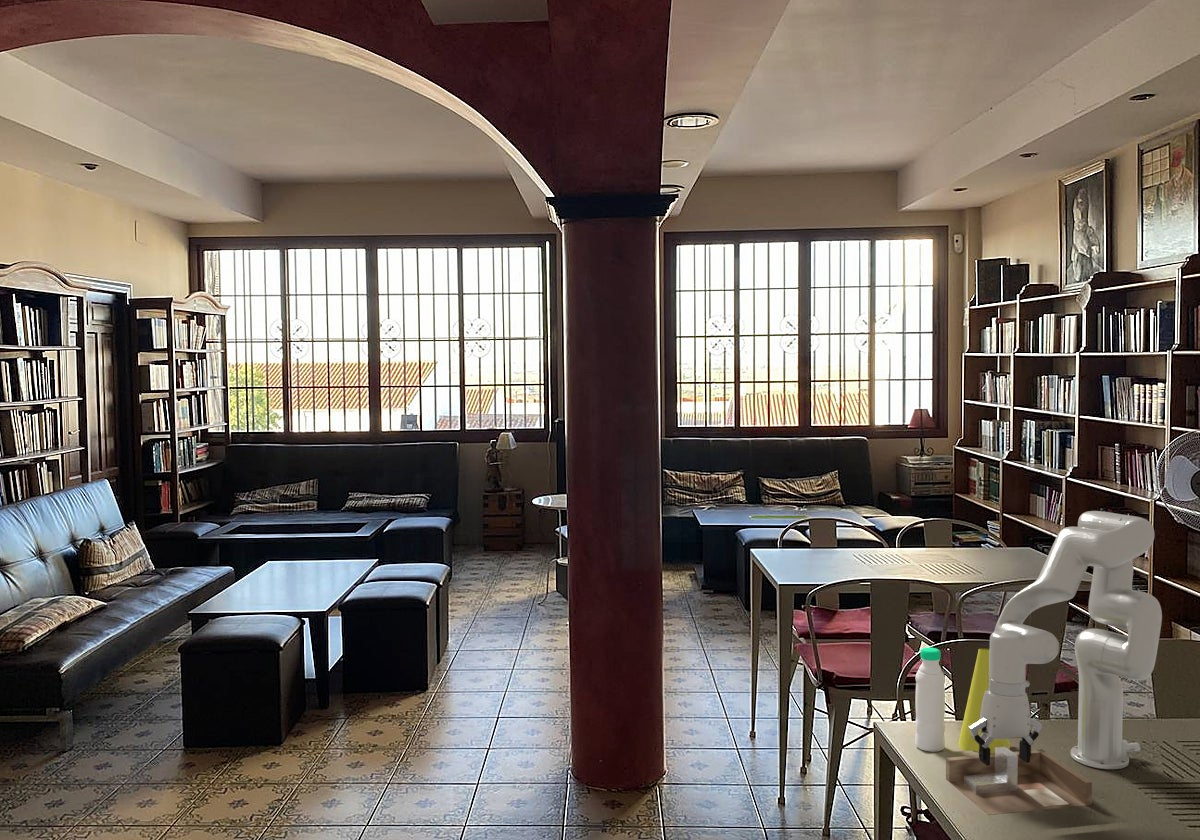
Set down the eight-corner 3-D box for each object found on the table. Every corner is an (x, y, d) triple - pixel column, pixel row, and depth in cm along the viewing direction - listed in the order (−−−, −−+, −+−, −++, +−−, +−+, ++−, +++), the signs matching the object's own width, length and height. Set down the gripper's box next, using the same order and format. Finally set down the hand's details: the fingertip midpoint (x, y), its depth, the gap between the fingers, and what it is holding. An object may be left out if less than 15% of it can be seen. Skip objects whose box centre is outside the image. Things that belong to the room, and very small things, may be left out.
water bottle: (946, 753, 246) (947, 654, 244) (916, 751, 247) (917, 652, 245) (942, 742, 252) (943, 645, 251) (913, 740, 254) (914, 644, 252)
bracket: (1004, 780, 227) (1005, 746, 227) (1017, 790, 223) (1017, 755, 222) (964, 784, 226) (964, 750, 225) (975, 794, 221) (976, 759, 220)
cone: (958, 735, 257) (959, 640, 255) (1010, 741, 252) (1011, 644, 251) (957, 753, 245) (958, 654, 244) (1011, 760, 241) (1012, 659, 239)
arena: (1041, 774, 233) (1042, 749, 232) (1091, 809, 215) (1092, 782, 215) (945, 783, 229) (946, 757, 229) (988, 819, 211) (988, 791, 211)
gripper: (1032, 679, 228) (1030, 752, 229) (962, 683, 225) (960, 757, 226) (1052, 690, 221) (1049, 766, 222) (979, 694, 218) (978, 771, 219)
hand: (1004, 761), depth 224 cm, fingers open, 9 cm apart
